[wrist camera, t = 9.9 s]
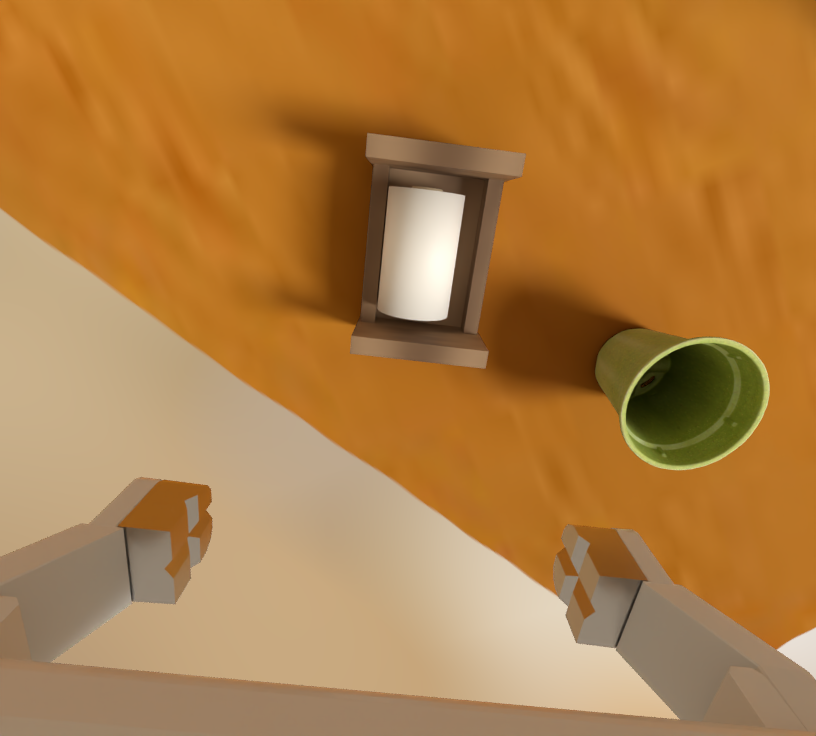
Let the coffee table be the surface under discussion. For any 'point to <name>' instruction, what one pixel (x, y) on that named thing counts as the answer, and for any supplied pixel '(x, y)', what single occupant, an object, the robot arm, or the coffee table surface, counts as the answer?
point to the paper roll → (419, 252)
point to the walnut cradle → (482, 188)
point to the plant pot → (682, 395)
